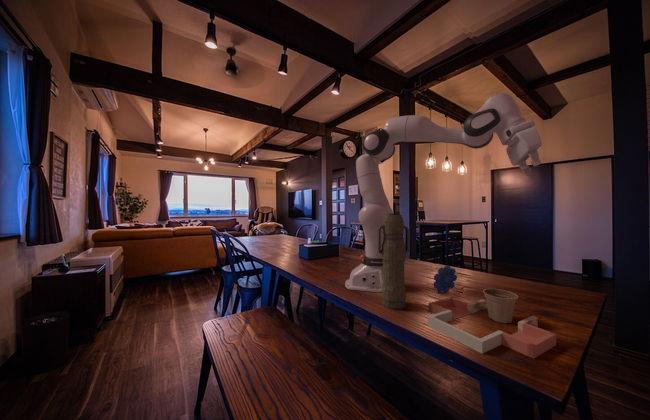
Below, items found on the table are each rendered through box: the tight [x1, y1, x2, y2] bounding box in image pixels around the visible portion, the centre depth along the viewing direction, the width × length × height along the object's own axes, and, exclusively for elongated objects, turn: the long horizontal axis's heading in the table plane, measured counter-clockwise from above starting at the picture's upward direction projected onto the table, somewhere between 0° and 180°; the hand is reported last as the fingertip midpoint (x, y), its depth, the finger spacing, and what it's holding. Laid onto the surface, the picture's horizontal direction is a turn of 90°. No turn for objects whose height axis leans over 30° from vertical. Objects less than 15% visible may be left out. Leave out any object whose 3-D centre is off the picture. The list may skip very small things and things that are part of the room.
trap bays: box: [428, 296, 557, 360], centre depth 75 cm, size 12×30×3 cm, turn 27°
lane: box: [467, 299, 539, 333], centre depth 79 cm, size 9×16×3 cm, turn 27°
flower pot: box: [482, 288, 519, 324], centre depth 79 cm, size 9×9×9 cm
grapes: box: [432, 264, 458, 294], centre depth 105 cm, size 12×7×12 cm, turn 104°
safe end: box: [427, 310, 504, 354], centre depth 70 cm, size 10×16×3 cm, turn 27°
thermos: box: [377, 213, 410, 310], centre depth 91 cm, size 9×12×35 cm
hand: (532, 169), depth 82 cm, fingers open, 8 cm apart
